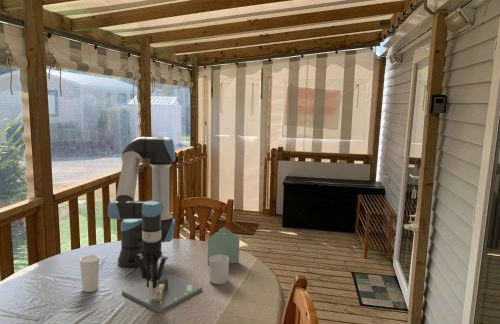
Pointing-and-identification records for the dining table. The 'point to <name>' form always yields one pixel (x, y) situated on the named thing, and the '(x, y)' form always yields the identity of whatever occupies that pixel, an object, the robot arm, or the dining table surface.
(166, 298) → the dial board
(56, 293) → the dining table surface
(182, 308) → the dining table surface
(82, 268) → the cup
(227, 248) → the teal house-shaped block
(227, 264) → the mug
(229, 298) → the dining table surface
